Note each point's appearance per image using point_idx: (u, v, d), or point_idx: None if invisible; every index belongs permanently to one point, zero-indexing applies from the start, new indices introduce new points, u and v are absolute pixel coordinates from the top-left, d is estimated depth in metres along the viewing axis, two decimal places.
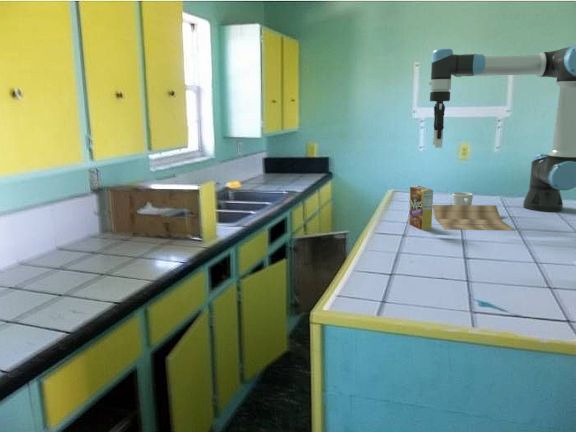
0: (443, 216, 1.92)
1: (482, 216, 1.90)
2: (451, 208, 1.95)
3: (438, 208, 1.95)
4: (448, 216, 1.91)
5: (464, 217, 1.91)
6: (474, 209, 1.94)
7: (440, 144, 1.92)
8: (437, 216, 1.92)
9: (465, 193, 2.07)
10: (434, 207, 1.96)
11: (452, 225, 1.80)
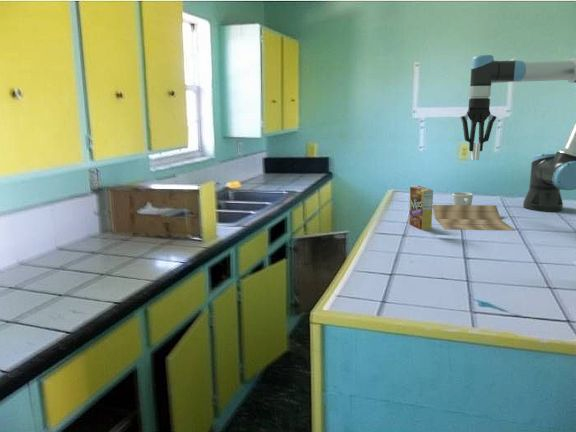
0: (443, 216, 1.92)
1: (482, 216, 1.90)
2: (451, 208, 1.95)
3: (438, 208, 1.95)
4: (448, 216, 1.91)
5: (464, 217, 1.91)
6: (474, 209, 1.94)
7: (472, 156, 1.95)
8: (437, 216, 1.92)
9: (465, 193, 2.07)
10: (434, 207, 1.96)
11: (452, 225, 1.80)
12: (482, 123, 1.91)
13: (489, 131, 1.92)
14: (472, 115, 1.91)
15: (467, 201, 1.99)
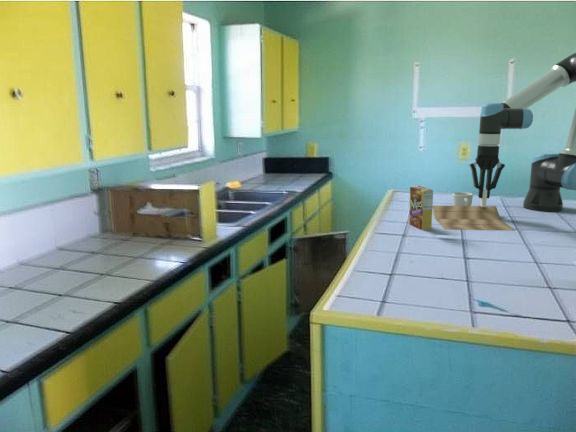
0: (443, 216, 1.92)
1: (482, 216, 1.90)
2: (451, 208, 1.95)
3: (438, 208, 1.95)
4: (448, 216, 1.91)
5: (464, 217, 1.91)
6: (474, 209, 1.94)
7: (481, 203, 1.93)
8: (437, 216, 1.92)
9: (465, 193, 2.07)
10: (434, 208, 1.96)
11: (452, 225, 1.80)
12: (490, 171, 1.89)
13: (497, 179, 1.90)
14: (481, 162, 1.89)
15: (467, 201, 1.99)
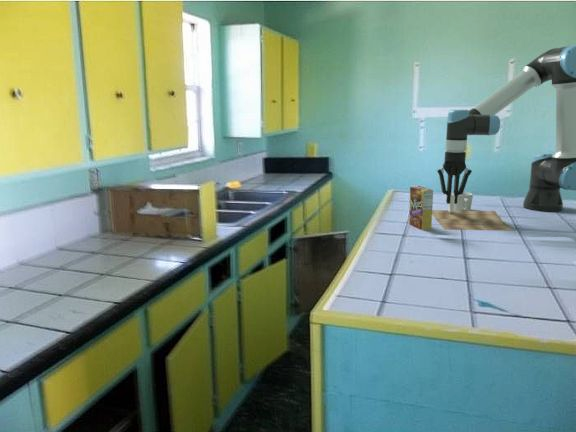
0: (443, 217, 1.92)
1: (482, 217, 1.91)
2: None
3: (437, 212, 1.96)
4: (448, 217, 1.92)
5: (464, 218, 1.91)
6: (473, 213, 1.95)
7: (449, 209, 1.95)
8: (437, 217, 1.92)
9: (465, 193, 2.07)
10: (433, 211, 1.97)
11: (452, 225, 1.80)
12: (457, 176, 1.91)
13: (464, 184, 1.92)
14: (448, 168, 1.91)
15: (467, 201, 1.99)
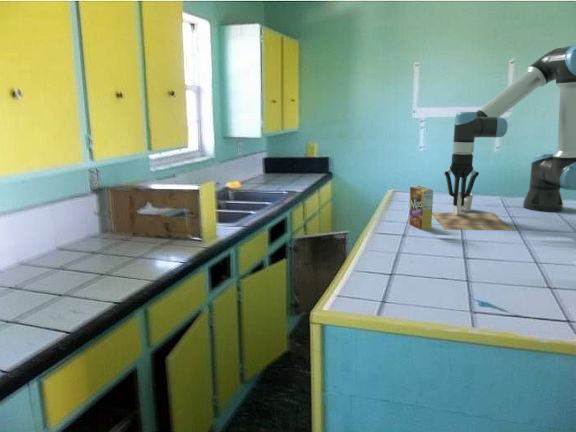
0: (443, 217, 1.92)
1: (482, 218, 1.91)
2: (450, 214, 1.96)
3: (437, 214, 1.96)
4: (448, 217, 1.92)
5: (464, 218, 1.91)
6: (473, 215, 1.95)
7: (456, 211, 1.95)
8: (437, 217, 1.92)
9: None
10: (433, 213, 1.97)
11: (452, 225, 1.80)
12: (464, 178, 1.91)
13: (471, 186, 1.91)
14: (455, 170, 1.91)
15: (467, 201, 1.99)
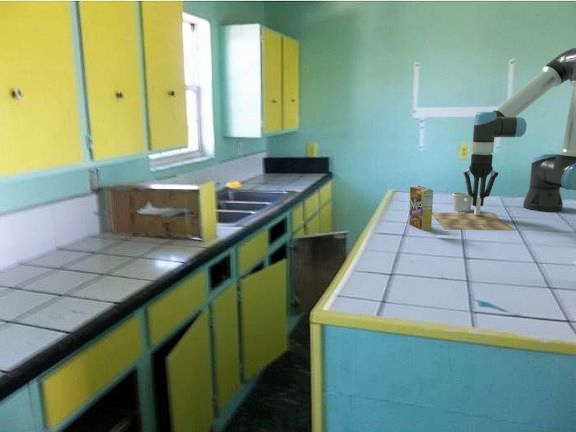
0: (443, 217, 1.92)
1: (482, 218, 1.91)
2: (450, 214, 1.96)
3: (437, 214, 1.96)
4: (448, 217, 1.92)
5: (464, 218, 1.91)
6: (473, 215, 1.95)
7: (475, 211, 1.94)
8: (437, 217, 1.92)
9: (465, 193, 2.07)
10: (433, 213, 1.97)
11: (452, 225, 1.80)
12: (484, 179, 1.90)
13: (490, 187, 1.91)
14: (474, 170, 1.90)
15: (467, 201, 1.99)
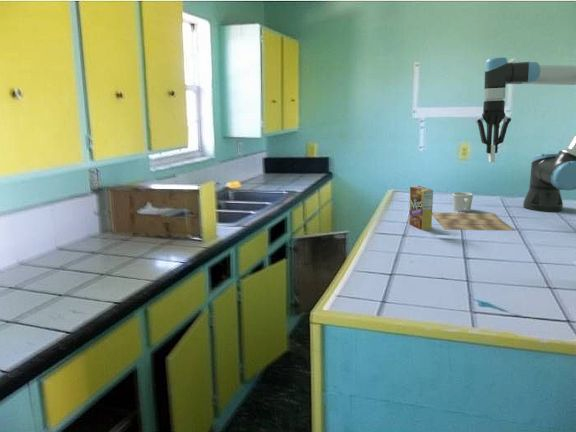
0: (443, 217, 1.92)
1: (482, 218, 1.91)
2: (450, 214, 1.96)
3: (437, 214, 1.96)
4: (448, 217, 1.92)
5: (464, 218, 1.91)
6: (473, 215, 1.95)
7: (490, 158, 1.96)
8: (437, 217, 1.92)
9: (465, 193, 2.07)
10: (433, 213, 1.97)
11: (452, 225, 1.80)
12: (497, 125, 1.92)
13: (504, 133, 1.93)
14: (487, 117, 1.92)
15: (467, 201, 1.99)
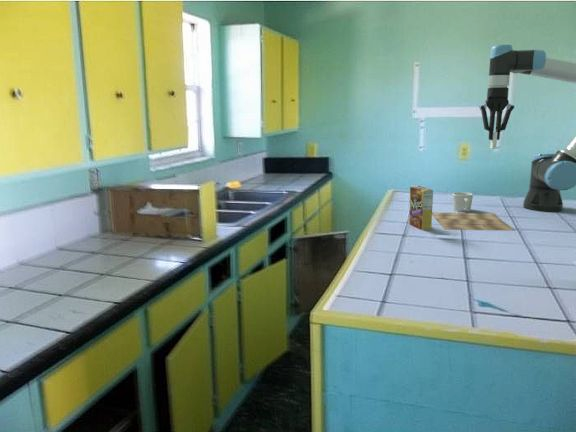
0: (443, 217, 1.92)
1: (482, 218, 1.91)
2: (450, 214, 1.96)
3: (437, 214, 1.96)
4: (448, 217, 1.92)
5: (464, 218, 1.91)
6: (473, 215, 1.95)
7: (491, 145, 1.98)
8: (437, 217, 1.92)
9: (465, 193, 2.07)
10: (433, 213, 1.97)
11: (452, 225, 1.80)
12: (500, 112, 1.94)
13: (506, 120, 1.95)
14: (491, 104, 1.95)
15: (467, 201, 1.99)
